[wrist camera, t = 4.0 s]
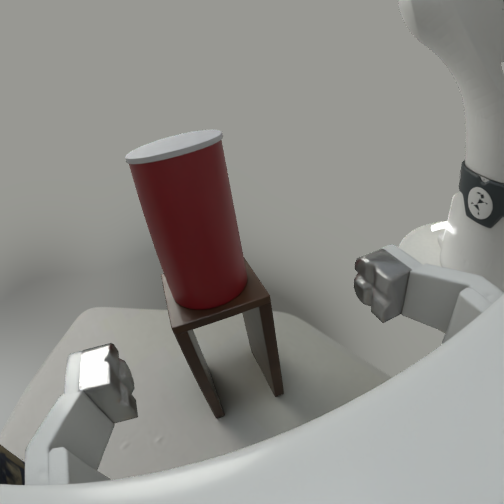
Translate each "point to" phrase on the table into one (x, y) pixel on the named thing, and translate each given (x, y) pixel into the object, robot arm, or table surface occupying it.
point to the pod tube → (191, 217)
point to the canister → (11, 468)
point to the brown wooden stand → (247, 302)
